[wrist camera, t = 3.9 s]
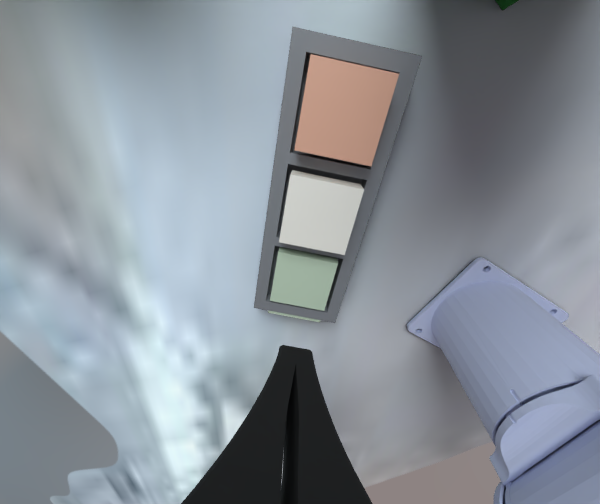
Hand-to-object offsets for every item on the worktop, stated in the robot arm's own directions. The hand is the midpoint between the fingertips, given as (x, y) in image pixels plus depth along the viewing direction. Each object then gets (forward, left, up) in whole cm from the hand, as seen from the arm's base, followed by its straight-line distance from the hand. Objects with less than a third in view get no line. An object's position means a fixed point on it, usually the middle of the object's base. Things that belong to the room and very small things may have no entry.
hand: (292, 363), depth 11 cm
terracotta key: (+3, -9, -7) cm, 12 cm away
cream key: (+1, -5, -7) cm, 9 cm away
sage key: (0, 0, -8) cm, 8 cm away
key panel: (+1, -5, -10) cm, 11 cm away
